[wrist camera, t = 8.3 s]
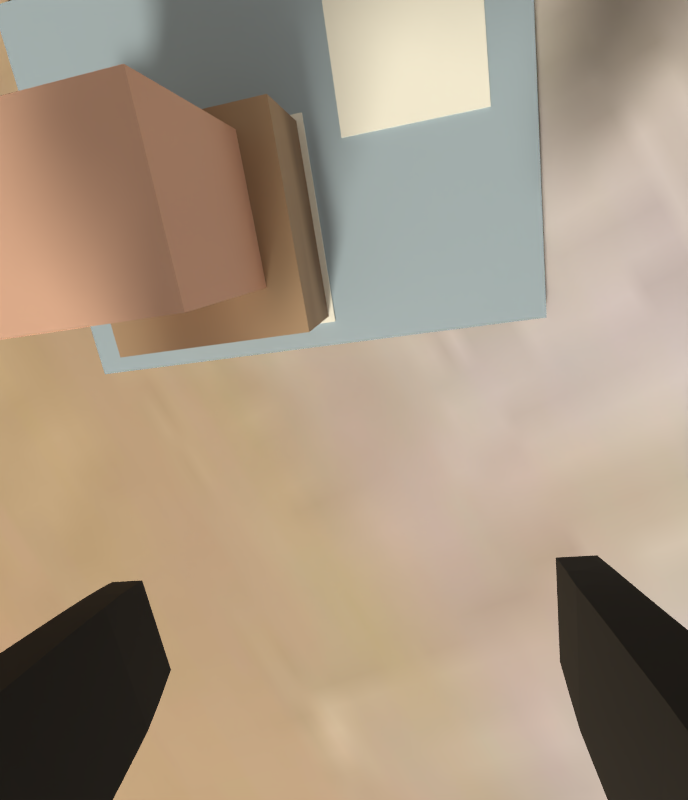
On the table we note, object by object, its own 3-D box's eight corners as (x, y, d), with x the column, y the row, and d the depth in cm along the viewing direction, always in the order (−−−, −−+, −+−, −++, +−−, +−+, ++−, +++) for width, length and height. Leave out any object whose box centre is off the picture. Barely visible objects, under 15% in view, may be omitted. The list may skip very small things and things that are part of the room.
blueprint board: (522, -141, 13) (528, -161, 12) (542, 314, 16) (547, 317, 16) (7, 14, 16) (-10, 4, 15) (114, 370, 19) (103, 375, 19)
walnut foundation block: (296, 121, 15) (267, 94, 12) (328, 316, 17) (309, 332, 14) (121, 159, 16) (57, 142, 13) (168, 338, 18) (120, 357, 15)
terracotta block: (235, 129, 13) (123, 63, 8) (266, 287, 14) (185, 312, 9) (97, 159, 13) (-80, 115, 9) (137, 307, 14) (0, 340, 10)
